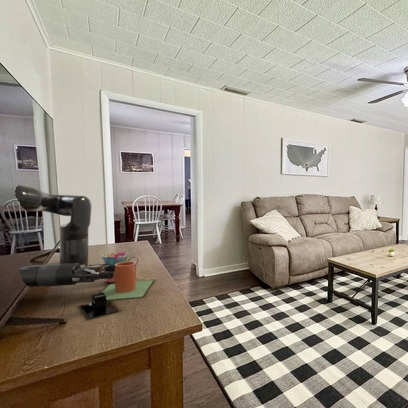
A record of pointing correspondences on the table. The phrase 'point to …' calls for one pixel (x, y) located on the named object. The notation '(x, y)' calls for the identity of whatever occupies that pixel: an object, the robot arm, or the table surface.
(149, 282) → the placemat
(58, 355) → the table surface
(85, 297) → the table surface
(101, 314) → the black stand
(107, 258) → the mug
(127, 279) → the pot
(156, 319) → the table surface
